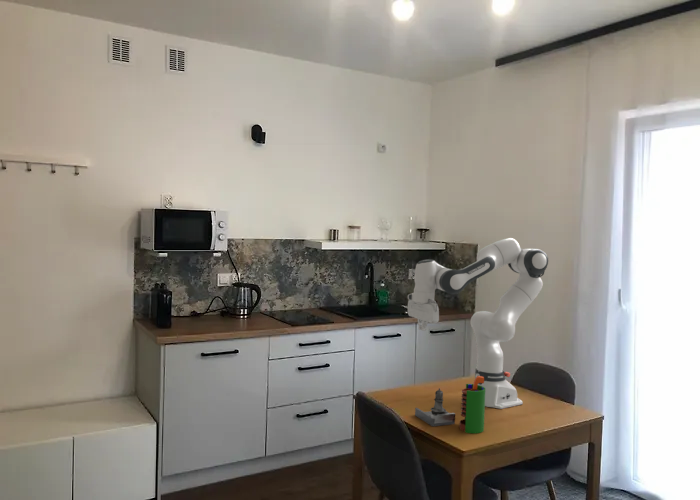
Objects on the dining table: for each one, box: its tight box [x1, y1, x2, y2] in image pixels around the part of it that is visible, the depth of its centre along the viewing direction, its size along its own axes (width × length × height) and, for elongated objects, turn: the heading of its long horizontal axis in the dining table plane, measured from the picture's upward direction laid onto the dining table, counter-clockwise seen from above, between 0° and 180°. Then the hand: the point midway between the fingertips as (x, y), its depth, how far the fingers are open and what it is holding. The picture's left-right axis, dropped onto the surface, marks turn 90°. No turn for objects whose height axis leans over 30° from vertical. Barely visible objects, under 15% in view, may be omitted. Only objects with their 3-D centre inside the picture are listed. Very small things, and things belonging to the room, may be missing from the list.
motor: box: [459, 376, 486, 434], centre depth 217 cm, size 10×9×20 cm
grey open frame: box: [414, 407, 456, 427], centre depth 226 cm, size 13×10×4 cm
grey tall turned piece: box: [430, 387, 447, 415], centre depth 223 cm, size 6×6×12 cm
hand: (422, 330), depth 245 cm, fingers closed
